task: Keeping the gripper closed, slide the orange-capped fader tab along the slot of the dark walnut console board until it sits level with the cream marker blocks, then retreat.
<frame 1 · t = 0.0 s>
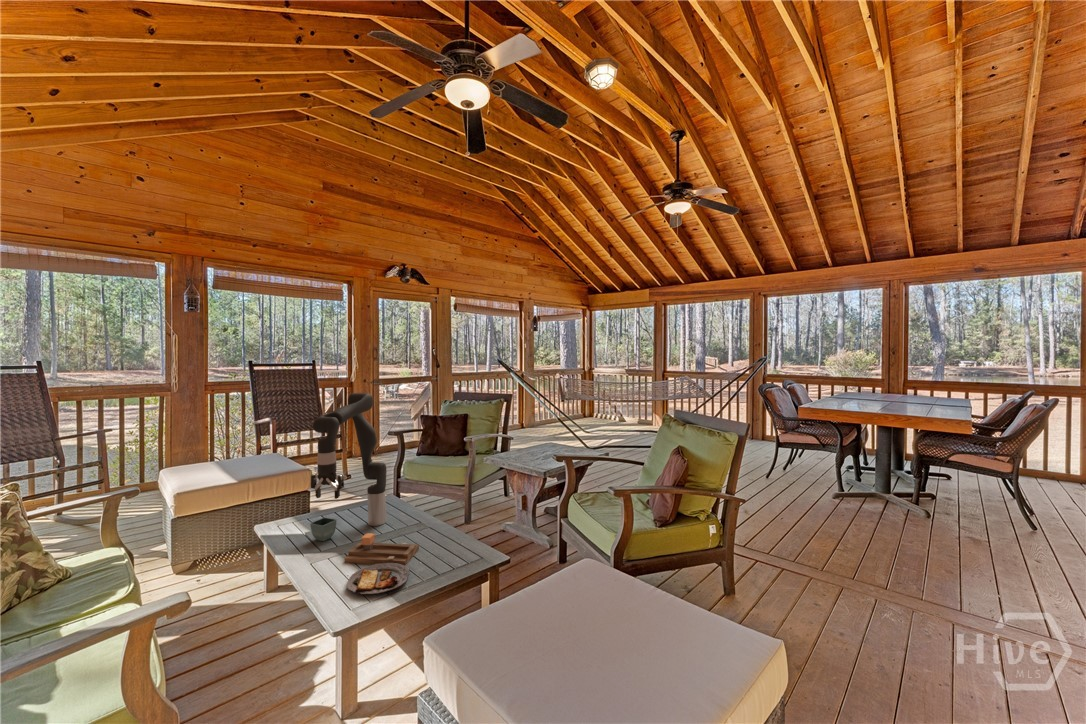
hand: (327, 498, 196), 29 cm above the table, fingers open, 8 cm apart
food plate: (378, 582, 181), on the table
flower pot: (323, 539, 222), on the table
fader: (368, 542, 204), point 6 cm above the table, slide at -7.0 cm
console: (382, 555, 204), on the table
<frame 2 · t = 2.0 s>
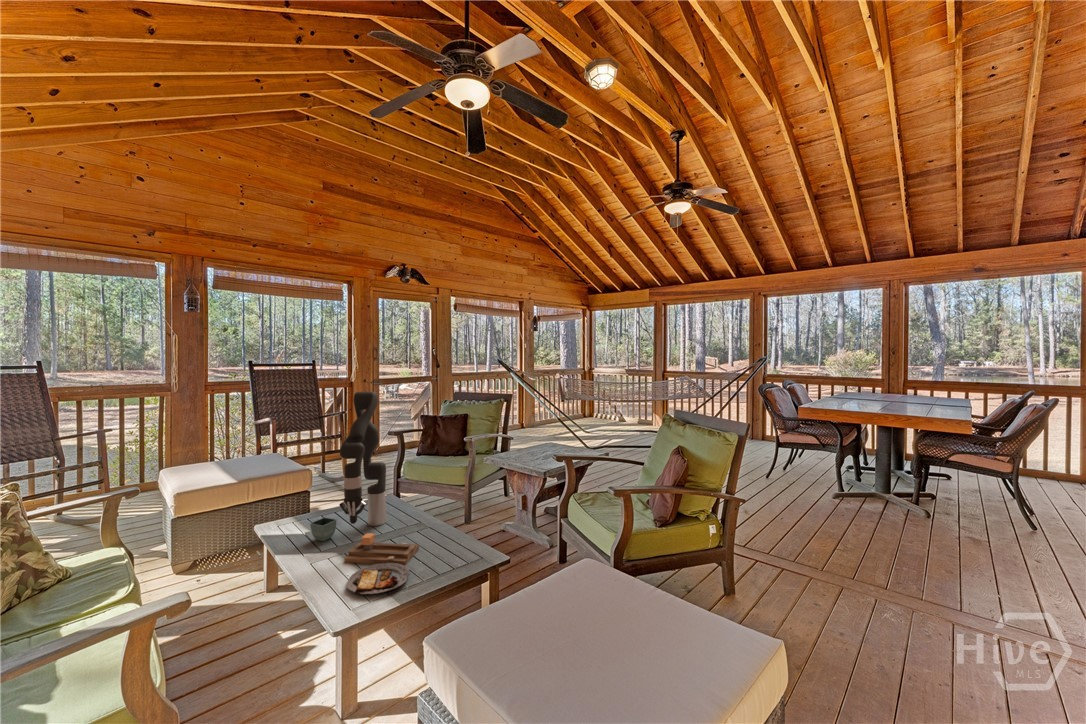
hand: (353, 523, 205), 15 cm above the table, fingers closed
nothing on the table moved.
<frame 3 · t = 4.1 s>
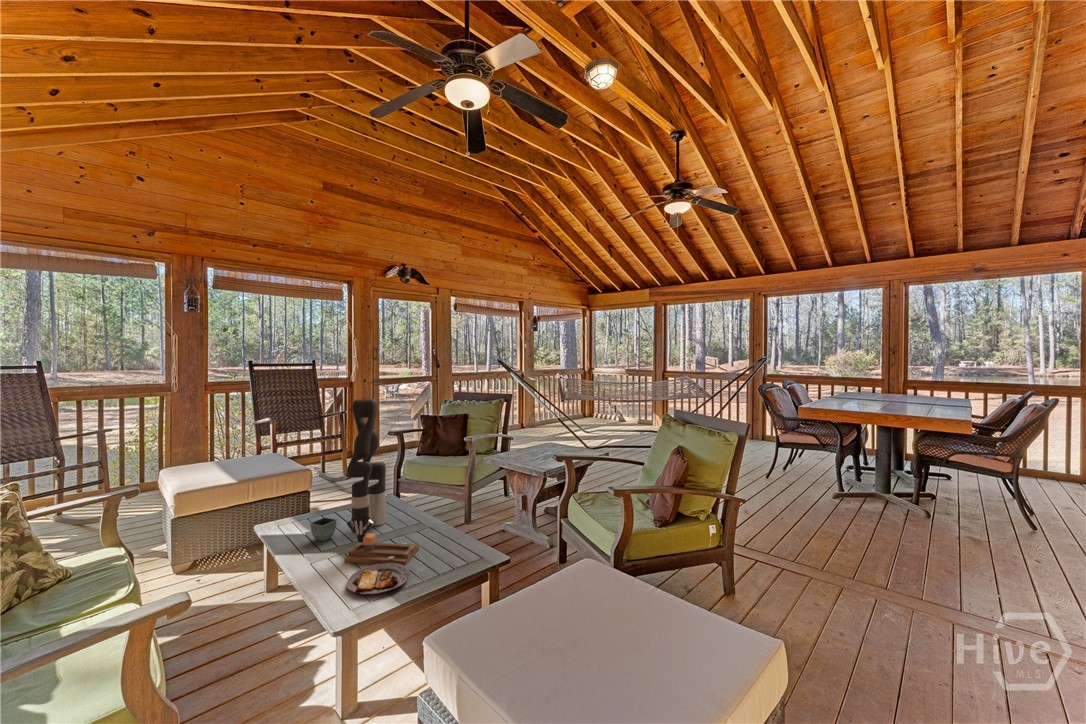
hand: (360, 541, 205), 6 cm above the table, fingers closed
fader: (369, 542, 204), point 6 cm above the table, slide at -6.2 cm, touching gripper
everything else where it was.
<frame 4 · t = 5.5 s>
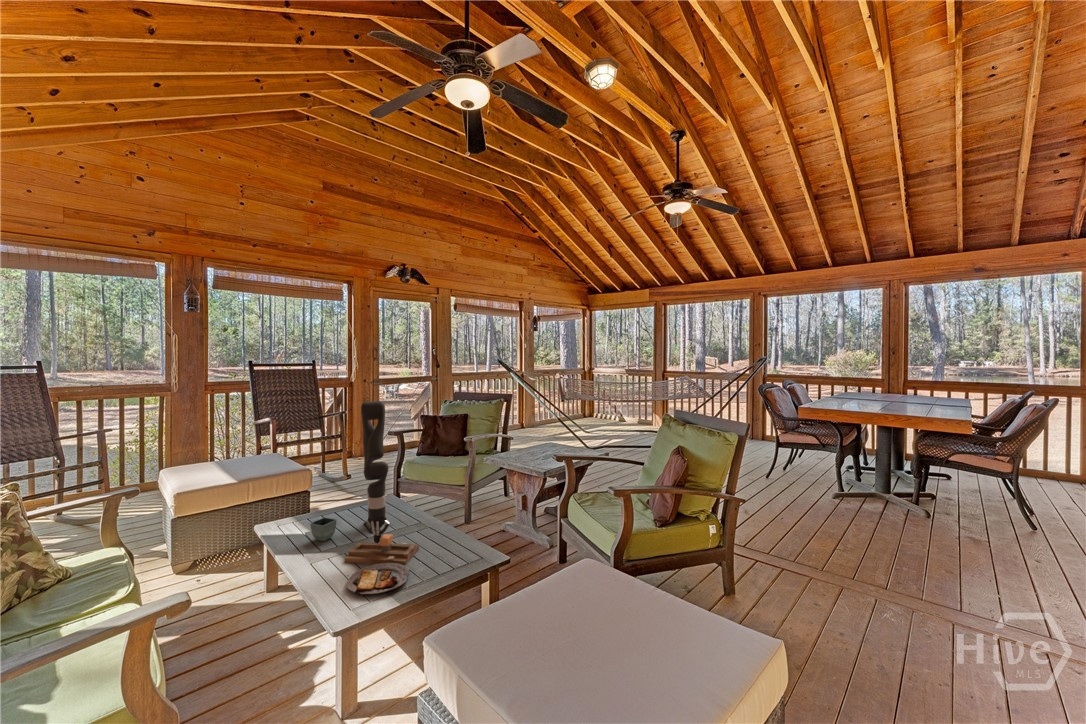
hand: (377, 542, 204), 6 cm above the table, fingers closed
fader: (386, 543, 203), point 6 cm above the table, slide at 1.8 cm, touching gripper
everything else where it was.
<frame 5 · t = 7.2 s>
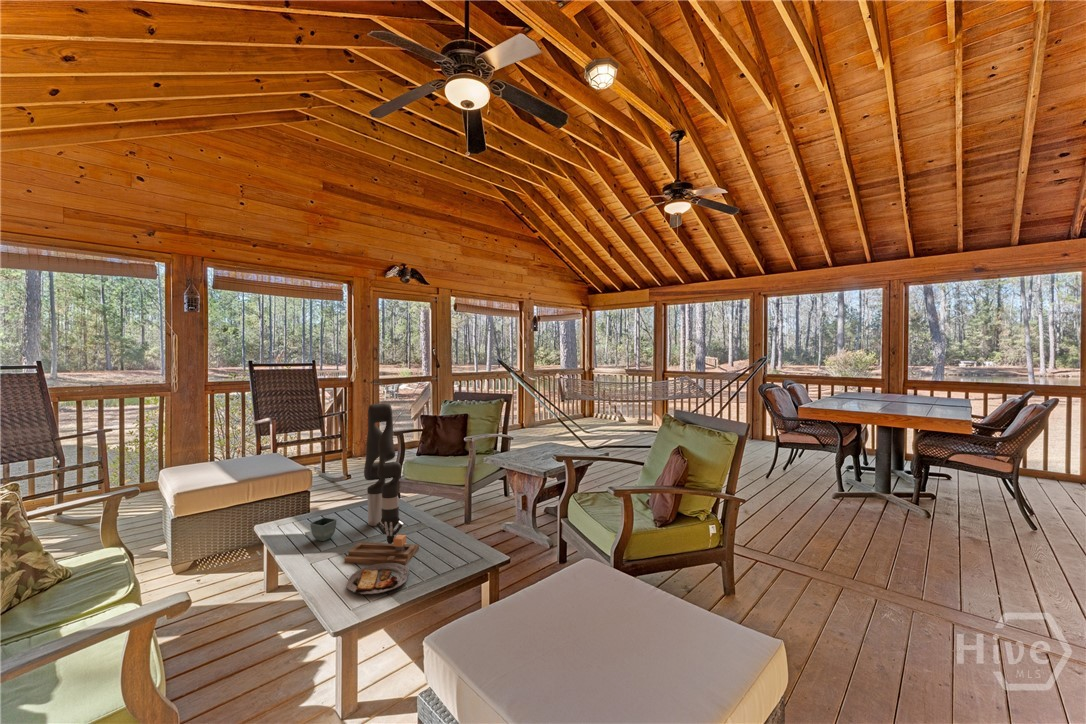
hand: (390, 543, 203), 6 cm above the table, fingers closed
fader: (399, 544, 203), point 6 cm above the table, slide at 8.2 cm, touching gripper
everything else where it was.
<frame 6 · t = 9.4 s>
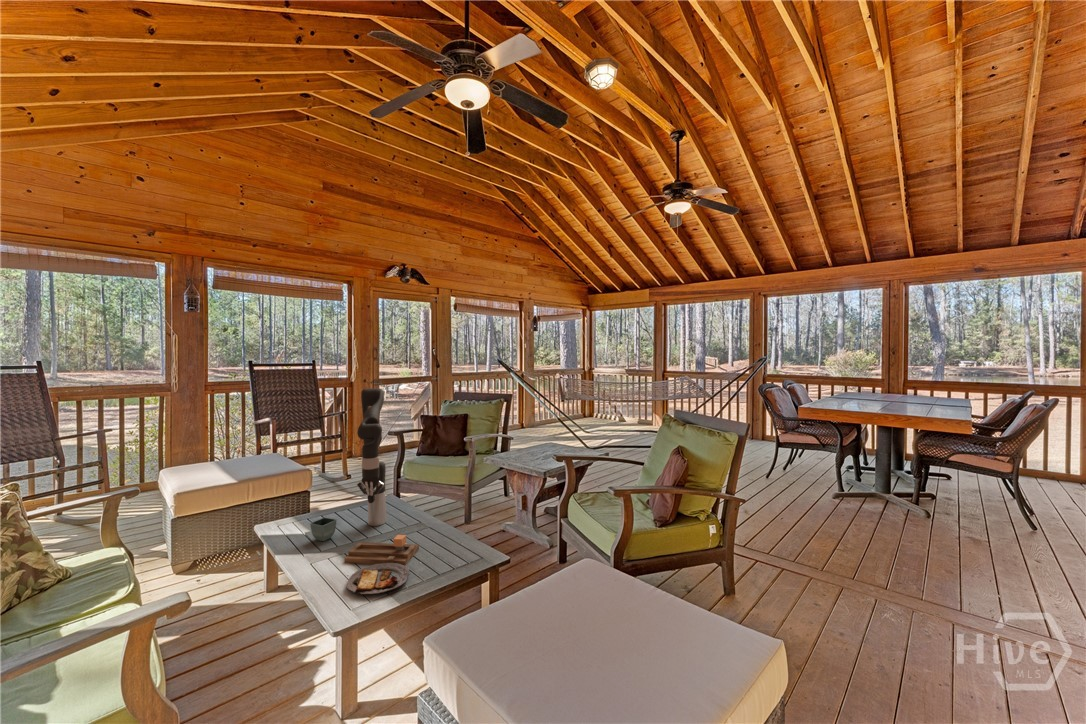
hand: (371, 502, 207), 23 cm above the table, fingers closed
fader: (399, 544, 203), point 6 cm above the table, slide at 8.3 cm
everything else where it was.
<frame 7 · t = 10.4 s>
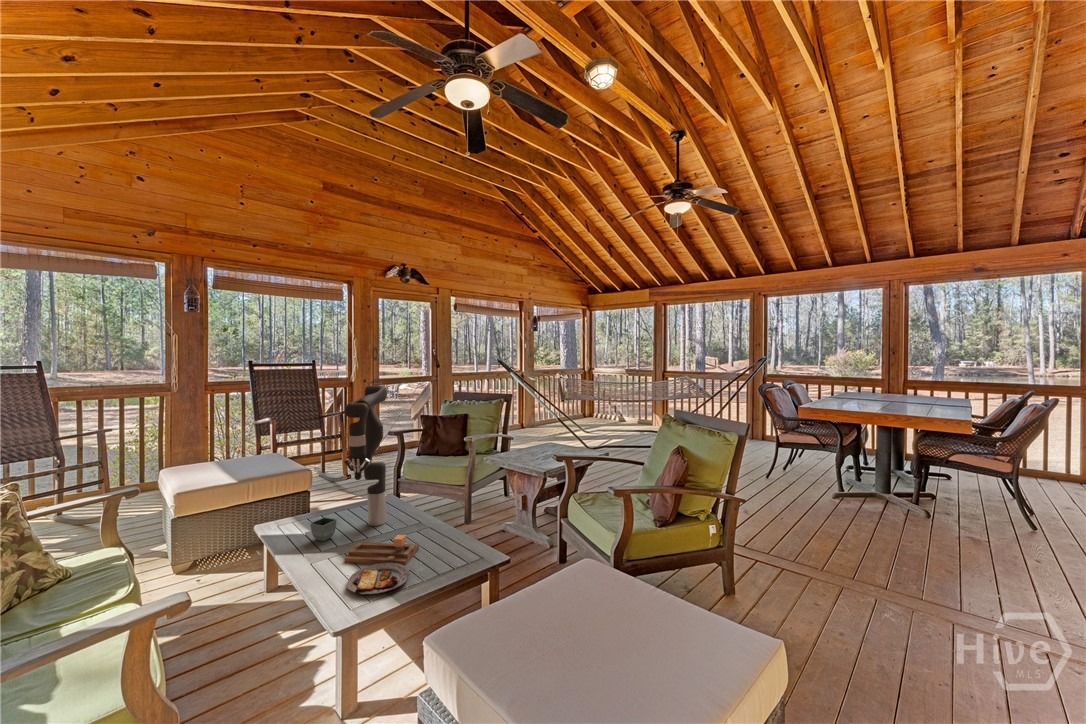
hand: (358, 479, 214), 32 cm above the table, fingers closed
nothing on the table moved.
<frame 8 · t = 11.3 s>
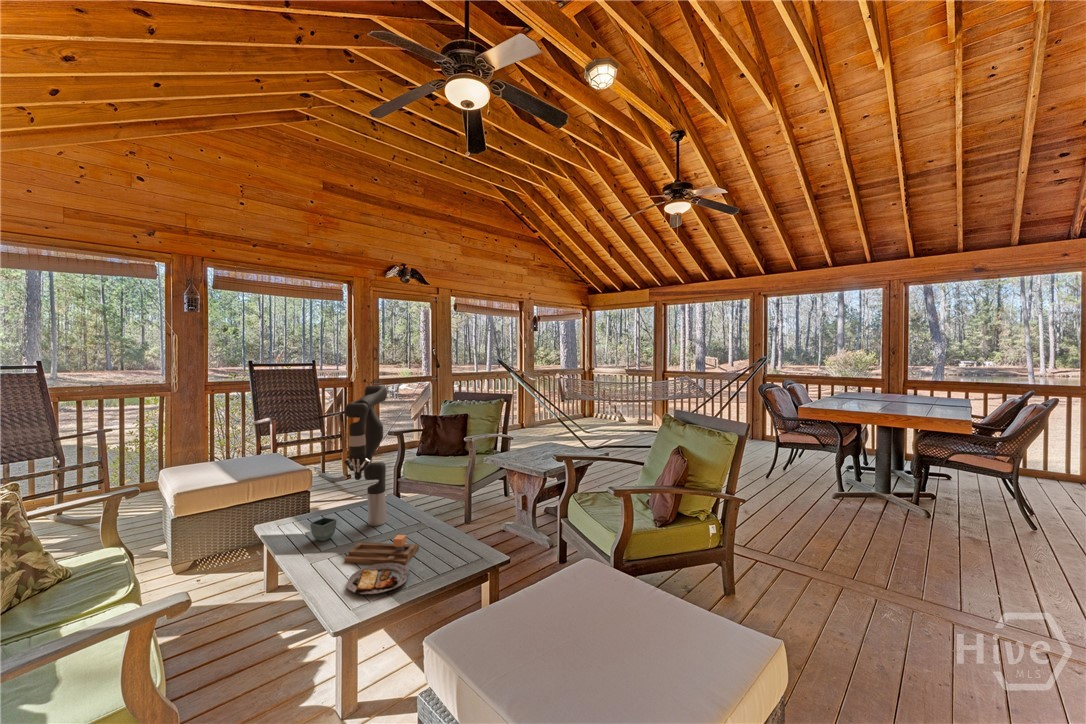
hand: (358, 479, 214), 32 cm above the table, fingers closed
nothing on the table moved.
at the end: fader slide at 8.3 cm; the gripper is holding nothing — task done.
